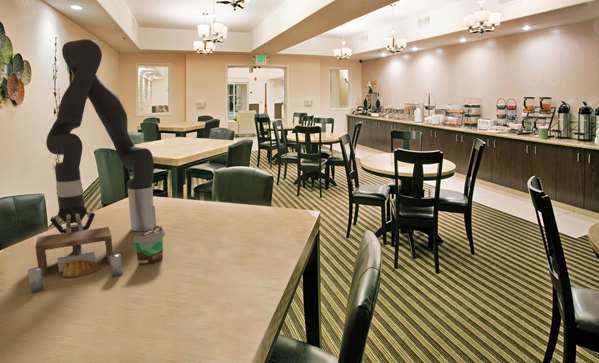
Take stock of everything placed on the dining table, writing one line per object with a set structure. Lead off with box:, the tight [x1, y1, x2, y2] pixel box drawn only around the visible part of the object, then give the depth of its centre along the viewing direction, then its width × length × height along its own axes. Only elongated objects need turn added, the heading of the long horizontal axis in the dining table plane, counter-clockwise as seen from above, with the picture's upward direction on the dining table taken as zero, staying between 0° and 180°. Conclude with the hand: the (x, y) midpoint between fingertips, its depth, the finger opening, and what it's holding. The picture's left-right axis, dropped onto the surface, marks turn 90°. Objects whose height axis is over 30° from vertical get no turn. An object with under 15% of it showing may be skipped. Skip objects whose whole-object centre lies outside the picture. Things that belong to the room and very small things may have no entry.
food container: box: [133, 224, 166, 266], centre depth 129 cm, size 12×6×10 cm, turn 168°
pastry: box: [62, 260, 99, 279], centre depth 120 cm, size 9×7×4 cm
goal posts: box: [27, 253, 123, 293], centre depth 113 cm, size 23×3×6 cm, turn 119°
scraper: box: [56, 223, 97, 273], centre depth 130 cm, size 10×18×9 cm, turn 29°
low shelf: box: [34, 226, 114, 278], centre depth 125 cm, size 20×10×10 cm, turn 119°
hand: (76, 242), depth 136 cm, fingers closed on scraper, 2 cm apart
